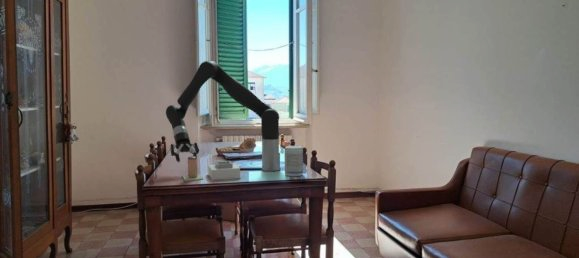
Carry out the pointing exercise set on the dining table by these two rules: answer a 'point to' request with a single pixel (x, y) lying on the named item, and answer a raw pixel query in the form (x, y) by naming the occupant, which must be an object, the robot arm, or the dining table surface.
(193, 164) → the tan brown block
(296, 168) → the supplement tub
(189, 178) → the sage mat
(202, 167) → the dining table surface
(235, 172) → the parts tub
